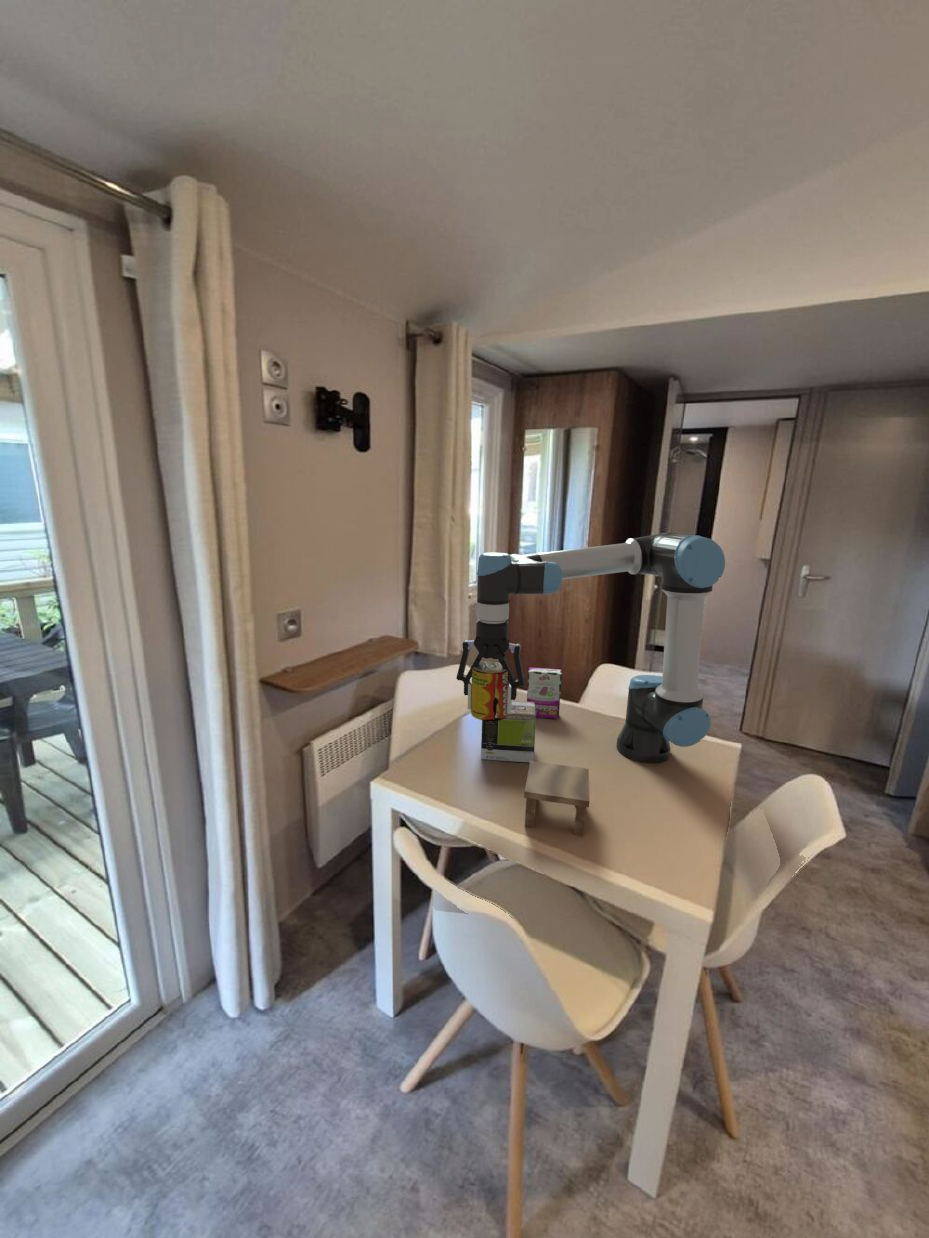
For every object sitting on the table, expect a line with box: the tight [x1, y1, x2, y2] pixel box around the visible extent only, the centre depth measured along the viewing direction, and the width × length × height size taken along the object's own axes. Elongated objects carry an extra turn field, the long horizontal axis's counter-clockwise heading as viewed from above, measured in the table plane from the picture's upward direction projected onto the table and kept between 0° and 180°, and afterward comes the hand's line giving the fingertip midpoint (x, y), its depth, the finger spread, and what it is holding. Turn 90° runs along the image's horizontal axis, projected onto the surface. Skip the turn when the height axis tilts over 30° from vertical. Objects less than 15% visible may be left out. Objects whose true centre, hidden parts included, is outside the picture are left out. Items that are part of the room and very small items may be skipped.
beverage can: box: [470, 660, 510, 721], centre depth 123 cm, size 9×9×12 cm
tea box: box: [480, 700, 537, 764], centre depth 146 cm, size 15×10×15 cm, turn 84°
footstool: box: [523, 761, 590, 837], centre depth 119 cm, size 14×14×9 cm
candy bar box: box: [526, 667, 563, 720], centre depth 172 cm, size 11×5×16 cm, turn 81°
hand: (489, 709), depth 124 cm, fingers closed on beverage can, 9 cm apart
